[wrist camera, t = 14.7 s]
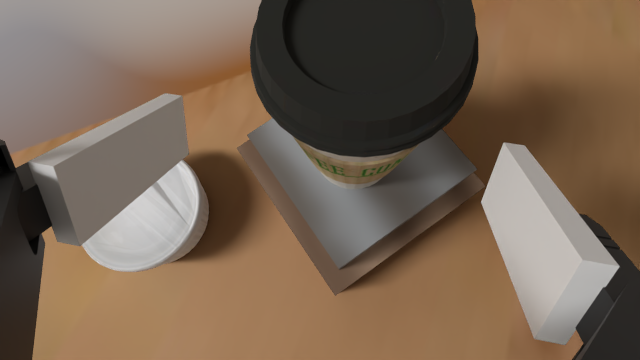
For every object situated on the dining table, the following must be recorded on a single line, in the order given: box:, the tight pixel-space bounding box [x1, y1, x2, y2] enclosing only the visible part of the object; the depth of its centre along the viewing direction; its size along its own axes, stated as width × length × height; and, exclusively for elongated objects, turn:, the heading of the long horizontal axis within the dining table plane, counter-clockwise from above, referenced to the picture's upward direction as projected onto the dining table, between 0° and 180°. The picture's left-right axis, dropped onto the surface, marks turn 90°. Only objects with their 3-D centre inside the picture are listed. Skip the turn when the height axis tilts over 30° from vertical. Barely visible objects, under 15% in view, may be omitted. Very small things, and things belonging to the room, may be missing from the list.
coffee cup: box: [250, 0, 478, 189], centre depth 21 cm, size 10×10×15 cm
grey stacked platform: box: [237, 118, 485, 296], centre depth 32 cm, size 16×16×8 cm
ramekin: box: [82, 159, 209, 272], centre depth 34 cm, size 11×11×5 cm
